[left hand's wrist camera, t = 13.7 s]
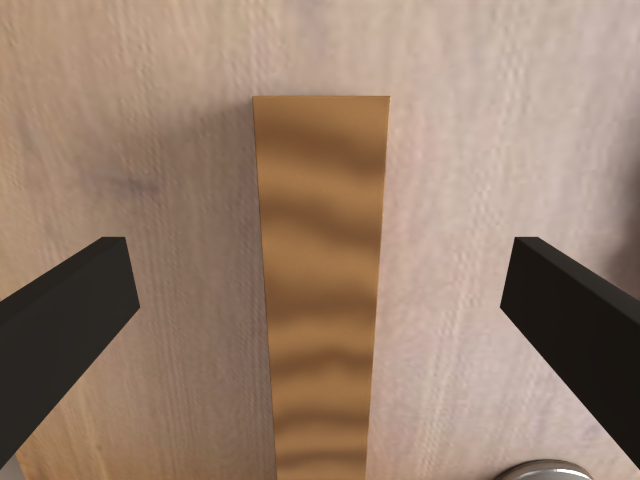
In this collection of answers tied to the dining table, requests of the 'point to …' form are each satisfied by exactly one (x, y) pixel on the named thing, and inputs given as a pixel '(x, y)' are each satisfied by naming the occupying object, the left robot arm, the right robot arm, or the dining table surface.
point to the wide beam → (321, 273)
